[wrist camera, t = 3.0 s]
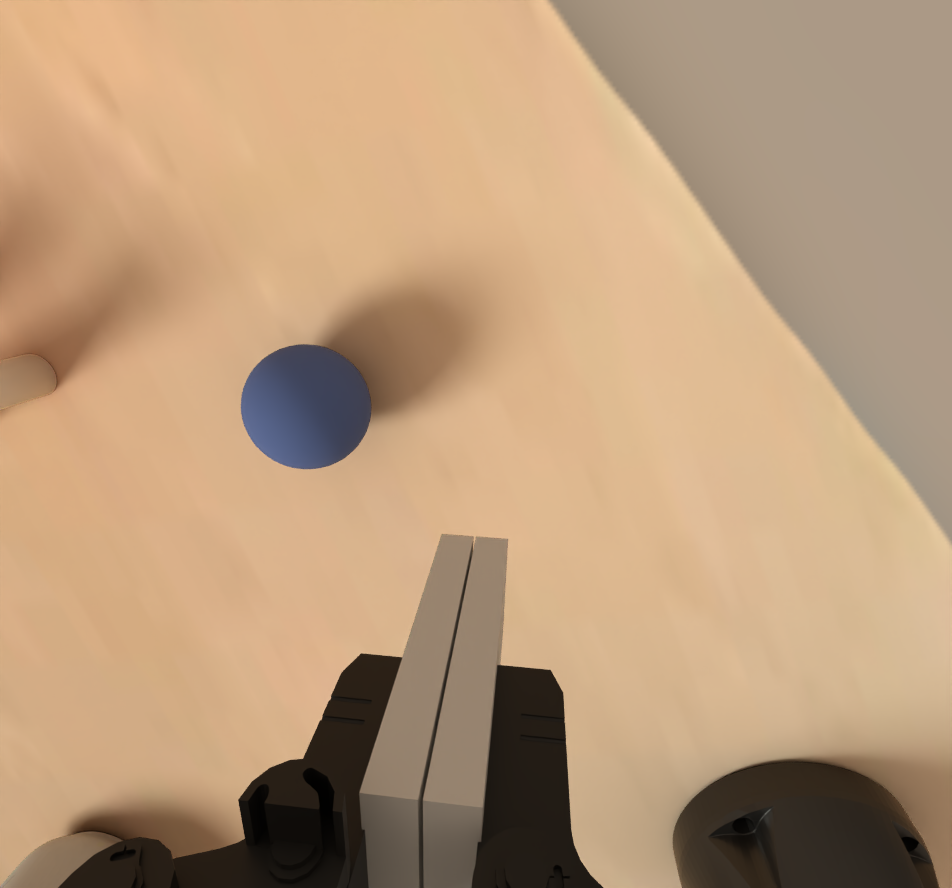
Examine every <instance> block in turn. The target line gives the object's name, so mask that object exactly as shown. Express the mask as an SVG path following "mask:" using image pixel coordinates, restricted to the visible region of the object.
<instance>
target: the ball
mask: <svg viewBox="0 0 952 888" xmlns="http://www.w3.org/2000/svg"><path fill="white" fill-rule="evenodd" d="M241 414H242V419H243V423H244V426H245V428H246V430H247V433H248V435H249V436H250V438H251V440H252V441H253V442H254V444H255V445H256V446H257V447H258V448H259V449H260V450H261V451H262V452H263V453H264V454H265V455H267V456H268V457H269V458H271V459H272V460H274V461H276V462H278V463H280V464H283V465H285V466H289V467H292V468H299V469H316V468H322V467H326V466H329V465H332V464H334V463H336V462H338V461H340V460H342V459H344V458H345V457H346V456H348V455H349V454H350V453H351V452H352V451H353V450H354V449H355V448H356V447H357V446H358V445H359V443H360V442H361V440H362V439H363V437H364V435H365V433H366V431H367V428H368V425H369V422H370V416H371V400H370V395H369V390H368V388H367V385H366V382H365V381H364V379H363V377H362V375H361V374H360V372H359V371H358V370H357V368H356V367H355V366H354V365H353V364H352V363H351V362H350V361H349V360H348V359H346V358H345V357H343V356H342V355H340V354H338V353H337V352H335V351H333V350H330V349H328V348H325V347H321V346H317V345H293V346H289V347H285V348H282V349H279V350H277V351H275V352H273V353H271V354H270V355H268V356H267V357H265V358H264V359H263V360H262V361H261V362H260V363H258V364H257V366H256V367H255V368H254V369H253V371H252V372H251V373H250V375H249V377H248V379H247V381H246V383H245V386H244V388H243V393H242V399H241Z"/></svg>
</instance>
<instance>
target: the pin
mask: <svg viewBox="0 0 952 888" xmlns="http://www.w3.org/2000/svg"><path fill="white" fill-rule="evenodd" d="M56 384H57V378H56V374H55V372H54V370H53V368H52V366H51V365H50V364H49V363H48V362H47V361H46V360H45V359H43V358H42V357H40V356H38V355H35V354H25V355H21V356H16V357H12V358H7V359H3V360H0V410H2V409H5V408H8V407H12V406H15V405H18V404H21V403H24V402H27V401H30V400H33V399H36V398H40V397H43V396H46V395H49V394H51V393H52V392H53V391H54V390H55V388H56Z"/></svg>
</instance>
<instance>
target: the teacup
mask: <svg viewBox="0 0 952 888" xmlns="http://www.w3.org/2000/svg"><path fill="white" fill-rule="evenodd" d="M120 841H123V840H121V839H119V838H117V837H115V836H112V835H109V834H106V833H102V832H94V831H90V832H80V833H76V834H73V835H69V836H64V837H59V838H56V839H53V840H51V841H49V842H47V843H45V844H43V845H41V846H40V847H38V848H37V849H35V850H34V851H33V852H32V853H30V854H29V855H28V856H27V857H26V858H25V859H24V860H23V861H22V862H21V863H20V864H19V865H18V866H17V867H16V869H15V870H14V871H13V872H12V873H11V874H10V875H9V876H8V878H7V879H6V880H5V881H4V882H3V884H2V885H1V886H0V888H58V887H59V886H60V885H61V884H62V883H63V882H64V881H65V880H66V879H67V878H68V877H69V876H70V875H71V874H72V873H73V872H74V871H75V870H76V869H77V868H79V867H80V866H81V865H82V864H83V863H85V862H86V861H87V860H88V859H89V858H91V857H92V856H93V855H94V854H96V853H98V852H100V851H102V850H104V849H106V848H108V847H109V846H111V845H113V844H115V843H117V842H120Z"/></svg>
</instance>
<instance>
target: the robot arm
mask: <svg viewBox="0 0 952 888" xmlns="http://www.w3.org/2000/svg"><path fill="white" fill-rule="evenodd" d="M507 548H508V539H501V538H488V537H476V540H475V545H474V550H473V536H462V535H448V534H442V535H441V538H440V541H439V545H438V548H437V551H436V554H435V557H434V560H433V563H432V567H431V570H430V573H429V576H428V579H427V582H426V585H425V588H424V592H423V595H422V598H421V601H420V604H419V607H418V610H417V614H416V617H415V620H414V623H413V626H412V629H411V632H410V635H409V639H408V642H407V645H406V648H405V651H404V654H403V657H392V656H382V655H371V654H360V655H359V656H358V657H357V658H356V659H355V660H354V661H353V662H352V663H351V664H350V665H349V666H348V667H347V668H346V669H345V670H344V671H343V672H342V673H341V675H340V677H339V680H338V682H337V684H336V686H335V689H334V691H333V693H332V695H331V700H329V702H328V704H327V707H326V709H325V711H324V713H323V717H322V720H320V722H319V724H318V727H317V729H316V731H315V733H314V736H313V738H312V740H311V742H310V744H309V747H308V749H307V751H306V753H305V756H304V758H303V759H297V760H289V761H286V762H284V763H281V764H279V765H276V766H274V767H271V768H269V769H268V770H267V771H265V772H264V773H263V774H261V775H260V776H259V777H257V778H256V779H255V780H254V781H252V782H251V784H250V785H249V786H248V788H247V789H246V790H245V792H244V793H243V794H242V796H241V797H240V799H239V800H238V801H239V806H240V812H241V818H242V823H243V829H244V834H245V839H244V840H242V841H240V842H238V843H236V844H233V845H230V846H226V847H223V848H220V849H216V850H211V851H207V852H202V853H198V854H193V855H188V856H184V857H179V858H175V859H172V855H171V851H170V850H169V849H168V848H166V847H165V846H164V845H163V844H162V843H161V842H160V841H159V840H153V839H148V838H142V837H139V838H134V839H130V840H125V841H120V842H117V843H115V844H113V845H111V846H109V847H108V848H106V849H104V850H102V851H100V852H98V853H96V854H94V855H93V856H92V857H91V858H89V859H88V860H87V861H86V862H85V863H83V864H82V865H81V866H80V867H79V868H77V869H76V870H75V871H74V872H73V873H72V874H71V875H70V876H69V877H68V878H67V879H66V880H65V881H64V882H63V883H62V884H61V885H60V886H59V887H58V888H603V887H602V886H601V885H600V884H599V883H598V882H597V881H596V880H595V879H594V878H593V877H592V876H591V875H590V874H589V872H588V871H587V869H586V868H585V866H584V865H583V863H582V862H581V860H580V858H579V856H578V853H577V851H576V849H575V846H574V843H573V837H572V832H571V820H570V803H569V785H568V768H567V751H566V734H565V723H564V719H565V717H564V700H563V692H562V690H561V688H560V686H559V684H558V683H557V681H556V679H555V677H554V675H553V674H552V672H551V670H544V669H534V668H524V667H513V666H503V665H500V661H501V649H502V637H503V621H504V603H505V585H506V567H507ZM673 850H674V855H675V860H676V864H677V869H678V873H679V878H680V882H681V885H682V888H939V884H938V881H937V877H936V874H935V870H934V867H933V864H932V860H931V857H930V854H929V852H928V850H927V847H926V845H925V843H924V841H923V839H922V838H921V836H920V834H919V833H918V831H917V830H916V828H915V826H914V825H913V823H912V822H911V820H910V819H909V817H908V815H907V814H906V812H905V811H904V809H903V808H902V806H901V805H900V803H899V802H898V801H897V800H896V799H895V798H894V797H893V795H891V794H890V793H889V792H888V791H887V790H886V789H884V788H883V787H882V786H880V785H879V784H877V783H876V782H874V781H872V780H870V779H868V778H867V777H864V776H862V775H860V774H857V773H855V772H852V771H849V770H846V769H843V768H839V767H835V766H830V765H824V764H817V763H803V762H789V763H776V764H768V765H762V766H757V767H753V768H749V769H746V770H742V771H739V772H737V773H734V774H731V775H729V776H727V777H724V778H722V779H720V780H718V781H717V782H715V783H713V784H711V785H710V786H708V787H707V788H705V789H704V790H703V791H701V792H700V793H699V794H698V795H697V796H695V797H694V798H693V799H692V800H691V801H690V802H689V804H688V805H687V806H686V807H685V809H684V810H683V812H682V813H681V815H680V817H679V819H678V821H677V823H676V826H675V829H674V834H673Z"/></svg>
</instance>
